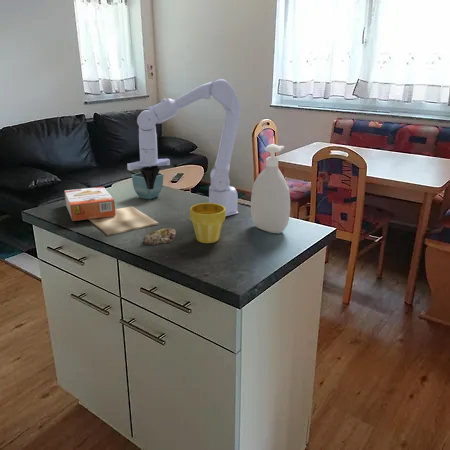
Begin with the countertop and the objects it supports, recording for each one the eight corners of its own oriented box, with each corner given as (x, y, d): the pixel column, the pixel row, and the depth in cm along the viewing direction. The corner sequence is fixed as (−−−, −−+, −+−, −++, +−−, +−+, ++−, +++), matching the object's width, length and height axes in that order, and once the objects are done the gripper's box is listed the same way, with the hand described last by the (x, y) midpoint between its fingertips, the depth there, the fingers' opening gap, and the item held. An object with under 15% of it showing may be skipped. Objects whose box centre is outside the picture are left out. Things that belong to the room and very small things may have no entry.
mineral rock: (164, 224, 141) (179, 224, 135) (167, 238, 142) (182, 238, 136) (134, 234, 134) (149, 234, 128) (138, 248, 135) (152, 249, 129)
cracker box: (70, 203, 144) (63, 189, 162) (72, 221, 145) (65, 206, 164) (114, 198, 149) (103, 185, 167) (116, 216, 151) (105, 201, 169)
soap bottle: (296, 231, 142) (303, 145, 133) (281, 238, 137) (286, 149, 127) (260, 220, 152) (263, 138, 142) (244, 226, 146) (247, 142, 137)
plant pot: (213, 248, 129) (214, 216, 126) (183, 241, 134) (182, 210, 131) (231, 236, 138) (231, 206, 134) (202, 230, 142) (202, 200, 139)
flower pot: (165, 196, 175) (164, 173, 172) (149, 202, 168) (148, 178, 165) (147, 192, 180) (146, 170, 176) (132, 198, 173) (130, 175, 169)
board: (132, 207, 162) (131, 206, 162) (158, 224, 147) (158, 222, 147) (85, 216, 153) (84, 215, 153) (107, 235, 138) (107, 233, 137)
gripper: (162, 144, 155) (163, 182, 160) (122, 148, 147) (125, 188, 152) (172, 147, 150) (173, 187, 155) (131, 152, 142) (134, 194, 147)
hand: (150, 188), depth 153 cm, fingers closed
